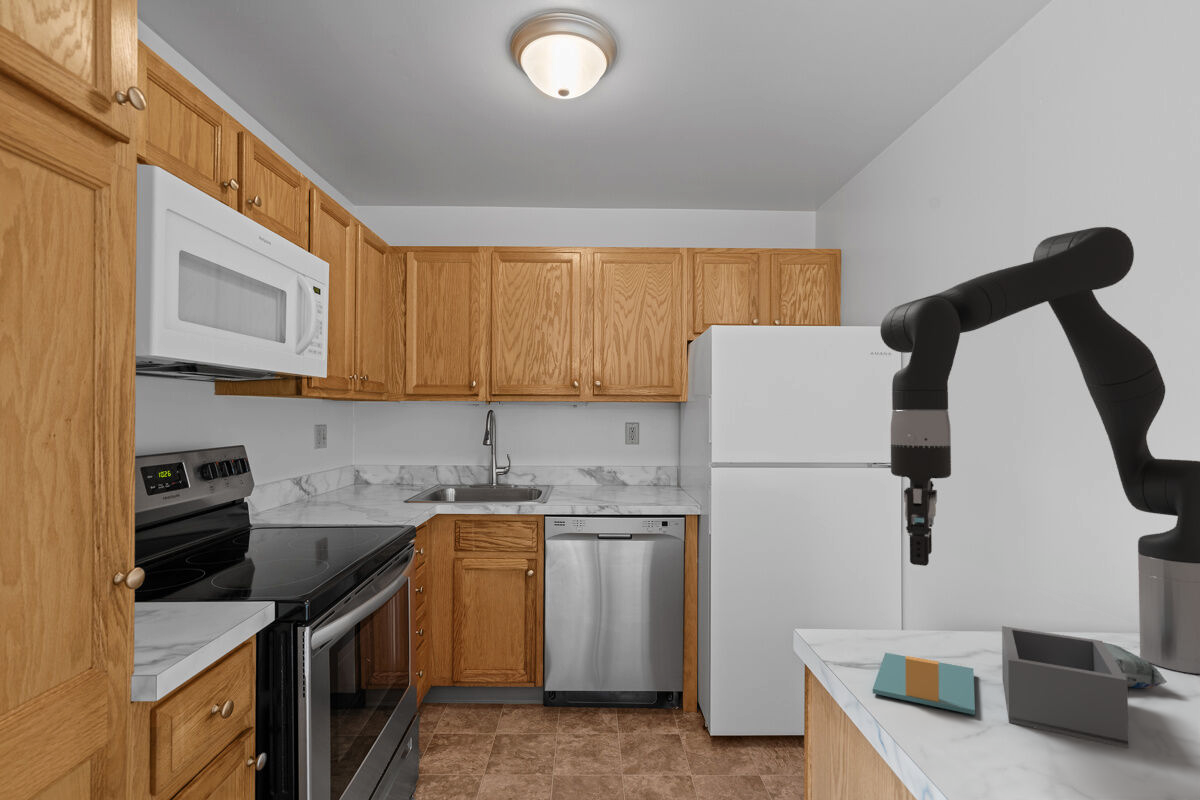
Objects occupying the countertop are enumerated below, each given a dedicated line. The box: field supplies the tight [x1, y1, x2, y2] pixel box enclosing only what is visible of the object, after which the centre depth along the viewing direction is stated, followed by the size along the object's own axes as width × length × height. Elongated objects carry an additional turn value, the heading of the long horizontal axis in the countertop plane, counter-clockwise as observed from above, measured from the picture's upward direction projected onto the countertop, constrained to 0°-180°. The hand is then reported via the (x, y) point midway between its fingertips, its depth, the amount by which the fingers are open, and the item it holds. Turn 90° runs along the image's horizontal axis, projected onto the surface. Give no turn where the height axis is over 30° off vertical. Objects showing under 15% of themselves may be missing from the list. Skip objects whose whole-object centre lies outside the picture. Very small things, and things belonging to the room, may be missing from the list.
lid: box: [872, 652, 976, 715], centre depth 92 cm, size 16×12×6 cm
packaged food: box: [1102, 641, 1168, 689], centre depth 96 cm, size 9×12×5 cm
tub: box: [1001, 625, 1129, 749], centre depth 85 cm, size 16×12×8 cm
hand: (921, 558), depth 87 cm, fingers open, 8 cm apart
